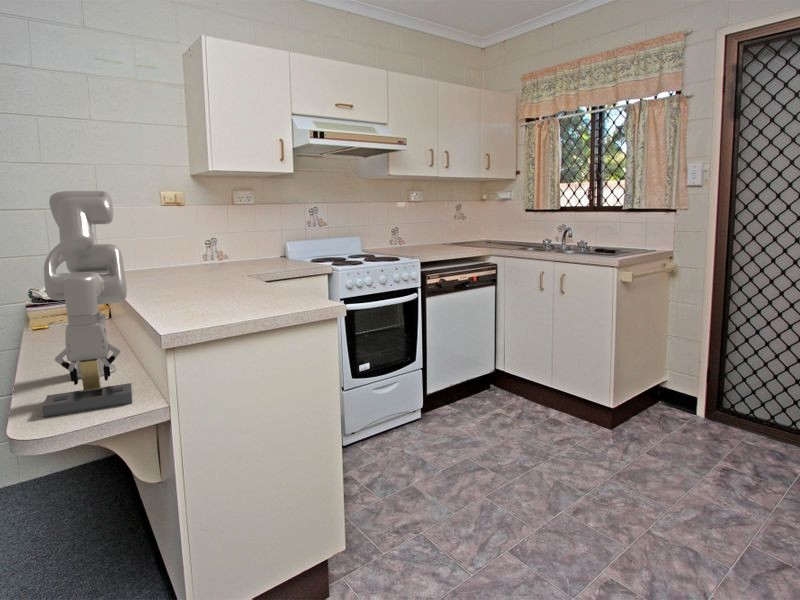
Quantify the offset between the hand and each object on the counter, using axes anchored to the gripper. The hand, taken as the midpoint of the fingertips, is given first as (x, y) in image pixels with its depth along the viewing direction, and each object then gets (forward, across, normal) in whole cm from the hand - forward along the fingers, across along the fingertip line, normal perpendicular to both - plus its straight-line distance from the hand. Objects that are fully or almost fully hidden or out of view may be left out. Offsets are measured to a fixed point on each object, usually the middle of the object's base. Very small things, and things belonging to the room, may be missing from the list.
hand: (91, 380), depth 149 cm
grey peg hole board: (+4, 0, +10) cm, 11 cm away
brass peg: (+4, 0, 0) cm, 4 cm away
